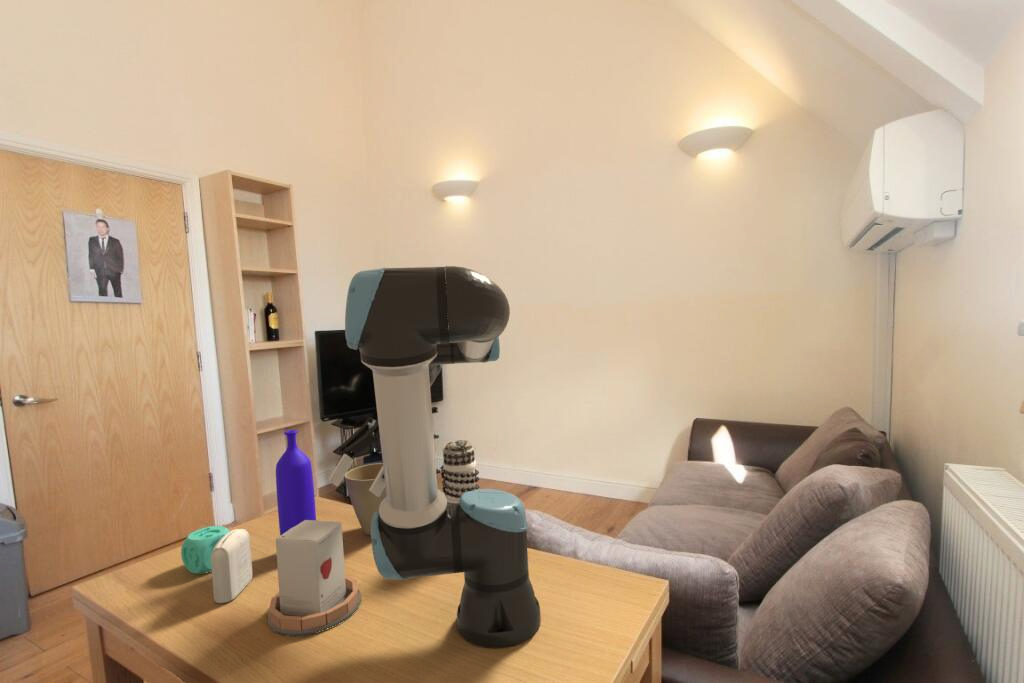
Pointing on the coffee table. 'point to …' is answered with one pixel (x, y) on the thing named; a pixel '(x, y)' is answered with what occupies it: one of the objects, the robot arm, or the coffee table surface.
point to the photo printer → (231, 565)
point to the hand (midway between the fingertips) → (352, 488)
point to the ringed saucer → (315, 621)
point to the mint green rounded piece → (201, 548)
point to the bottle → (294, 486)
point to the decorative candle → (458, 470)
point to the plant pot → (364, 493)
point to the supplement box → (310, 567)
